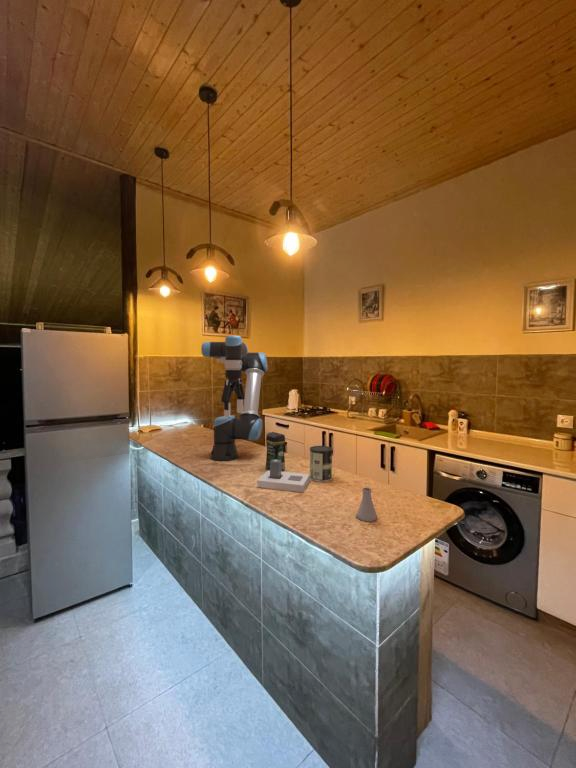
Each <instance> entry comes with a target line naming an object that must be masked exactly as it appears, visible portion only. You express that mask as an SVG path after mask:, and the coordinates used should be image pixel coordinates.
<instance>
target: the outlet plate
mask: <svg viewBox="0 0 576 768" xmlns="http://www.w3.org/2000/svg"><path fill="white" fill-rule="evenodd" d="M256 481H257V482H256V485H257V488H259V487H261V489H268V488H269V489H270V490H279V491H285V492H287V491H288V492H295V493H304V491H305V490H306V488H307V487H308V485H309V483H310V481H311V479H310V473H309V474H308V473H300V472H299V473H298V472H289V471H281V478H280V479H274V478H270V470H268V469H267V471H265V473H263V474H262V475H261V476H260V477H259V478H258V479H257V480H256ZM269 489H268V490H269Z"/></svg>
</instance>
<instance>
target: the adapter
mask: <svg viewBox="0 0 576 768" xmlns="http://www.w3.org/2000/svg"><path fill="white" fill-rule="evenodd" d="M281 472H282V471H281V460H276V459H273V460H271V461H270V478H274V479H280V478H281Z"/></svg>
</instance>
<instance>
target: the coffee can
mask: <svg viewBox="0 0 576 768" xmlns="http://www.w3.org/2000/svg"><path fill="white" fill-rule="evenodd" d="M309 465H310V466H309V474H310V481H313V482H316V483H317V482H319V483H327V482H330V481H332V480H331V479H333V476H332V475H333V472H332V471H333V469H332V468H333V448H332V447H331V446H327V445H313V446H311V447H309Z"/></svg>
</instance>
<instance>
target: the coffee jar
mask: <svg viewBox="0 0 576 768" xmlns="http://www.w3.org/2000/svg"><path fill="white" fill-rule="evenodd" d="M265 436H266V438H265V443H266V455H265V456H266V457H265V458H266V460H265V468H266V470H267V471H268V470H270V461H271V460H273V459H276V460H281V472H284V470H285V469H286V463H285V462H286V461H285V460H286V459H285V443H286V436H285V434H283V433H279V432H276V431H271V432H270V431H269V432H267V434H266V435H265Z"/></svg>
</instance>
